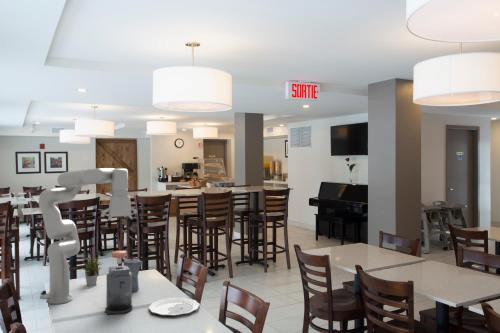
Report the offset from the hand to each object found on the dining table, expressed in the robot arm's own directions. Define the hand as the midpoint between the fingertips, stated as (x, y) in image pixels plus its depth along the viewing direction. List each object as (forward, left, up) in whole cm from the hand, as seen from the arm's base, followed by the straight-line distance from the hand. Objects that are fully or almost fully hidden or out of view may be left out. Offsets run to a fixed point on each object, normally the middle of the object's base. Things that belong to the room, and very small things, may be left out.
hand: (119, 227), depth 209 cm
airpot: (0, -1, -41) cm, 41 cm away
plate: (+25, -12, -42) cm, 50 cm away
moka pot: (+12, +28, -42) cm, 52 cm away
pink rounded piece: (0, -1, -18) cm, 18 cm away
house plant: (-6, +48, -42) cm, 64 cm away
